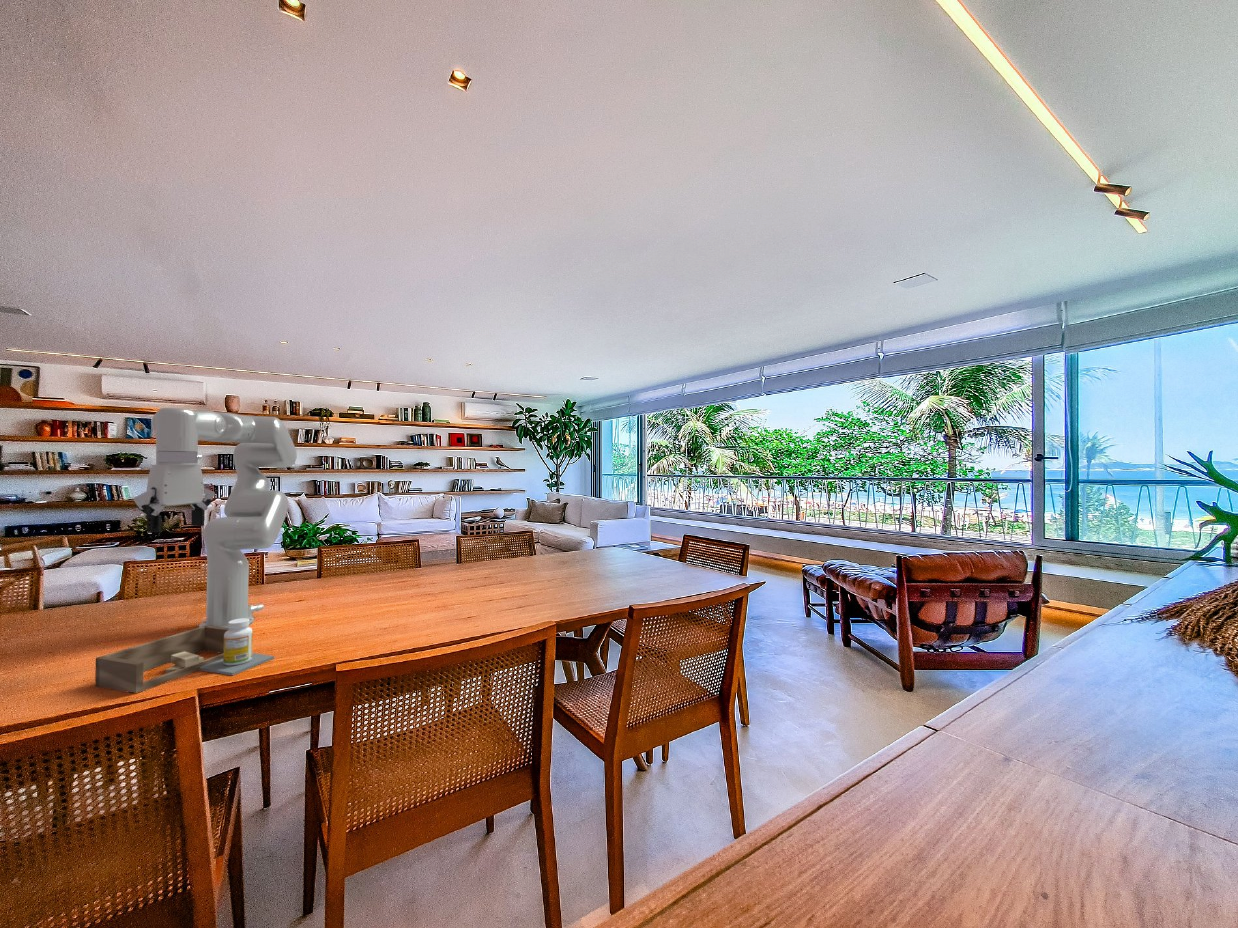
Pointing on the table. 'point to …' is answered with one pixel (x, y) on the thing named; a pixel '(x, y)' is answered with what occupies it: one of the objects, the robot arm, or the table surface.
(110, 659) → the frame
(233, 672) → the mat
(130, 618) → the table surface
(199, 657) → the offcut lower
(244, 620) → the supplement bottle
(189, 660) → the offcut upper
